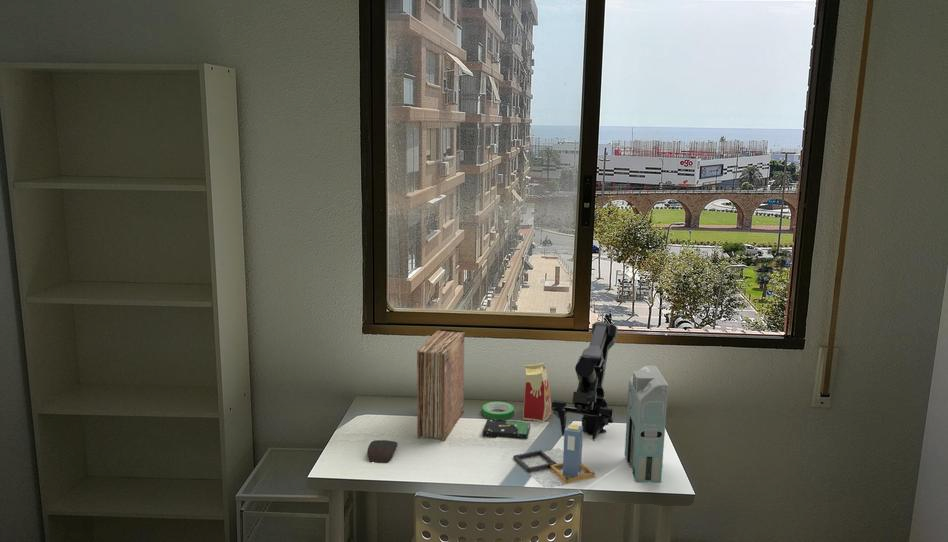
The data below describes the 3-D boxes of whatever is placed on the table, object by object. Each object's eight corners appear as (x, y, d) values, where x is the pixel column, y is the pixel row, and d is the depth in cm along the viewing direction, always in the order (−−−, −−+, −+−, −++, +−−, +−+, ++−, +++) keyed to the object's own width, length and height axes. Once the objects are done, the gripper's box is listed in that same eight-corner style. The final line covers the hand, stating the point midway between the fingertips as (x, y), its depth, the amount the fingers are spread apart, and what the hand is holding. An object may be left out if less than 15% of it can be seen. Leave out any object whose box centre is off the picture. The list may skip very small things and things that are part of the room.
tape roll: (509, 422, 268) (509, 415, 267) (478, 418, 271) (478, 411, 270) (517, 410, 278) (517, 403, 278) (487, 406, 281) (487, 399, 281)
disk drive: (482, 438, 256) (527, 441, 253) (482, 430, 255) (527, 433, 253) (486, 426, 266) (530, 428, 263) (487, 418, 265) (530, 421, 263)
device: (624, 456, 243) (629, 365, 236) (649, 457, 243) (655, 365, 236) (634, 482, 227) (640, 384, 220) (661, 482, 227) (668, 385, 220)
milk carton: (551, 413, 276) (553, 359, 271) (544, 423, 267) (546, 367, 263) (526, 409, 279) (527, 356, 274) (519, 419, 270) (520, 364, 266)
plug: (566, 467, 234) (567, 422, 231) (580, 470, 232) (583, 425, 229) (561, 475, 229) (563, 429, 226) (577, 478, 227) (579, 432, 224)
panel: (559, 449, 247) (559, 445, 247) (596, 478, 228) (596, 474, 228) (511, 459, 240) (511, 454, 240) (545, 490, 221) (545, 485, 221)
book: (444, 441, 252) (444, 353, 245) (416, 438, 254) (416, 350, 247) (463, 412, 276) (464, 330, 269) (438, 409, 278) (438, 328, 271)
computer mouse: (365, 463, 237) (365, 450, 236) (375, 443, 250) (374, 432, 249) (391, 464, 236) (391, 452, 235) (399, 445, 249) (399, 433, 249)
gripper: (553, 375, 239) (543, 423, 232) (614, 383, 233) (606, 432, 226) (558, 390, 248) (549, 437, 241) (617, 398, 243) (609, 446, 235)
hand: (577, 437), depth 235 cm, fingers open, 9 cm apart
